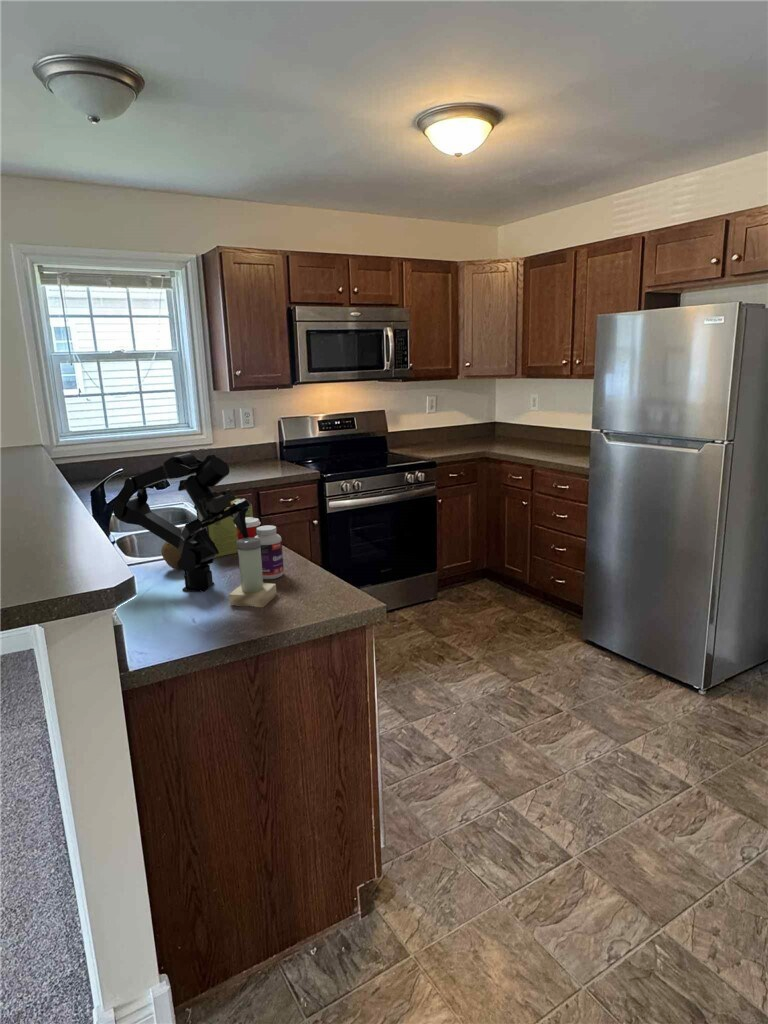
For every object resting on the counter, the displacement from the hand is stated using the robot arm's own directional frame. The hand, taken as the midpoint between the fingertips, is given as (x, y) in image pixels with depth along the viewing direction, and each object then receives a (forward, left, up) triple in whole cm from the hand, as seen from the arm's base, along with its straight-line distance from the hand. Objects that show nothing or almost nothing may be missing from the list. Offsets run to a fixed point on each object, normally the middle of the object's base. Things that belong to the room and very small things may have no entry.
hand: (233, 546), depth 164 cm
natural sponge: (-27, +18, -14) cm, 35 cm away
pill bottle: (+3, +16, -14) cm, 21 cm away
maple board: (+6, -2, -13) cm, 15 cm away
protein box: (-21, +38, -14) cm, 45 cm away
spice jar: (+6, -2, -10) cm, 12 cm away
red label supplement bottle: (-7, +25, -14) cm, 29 cm away
